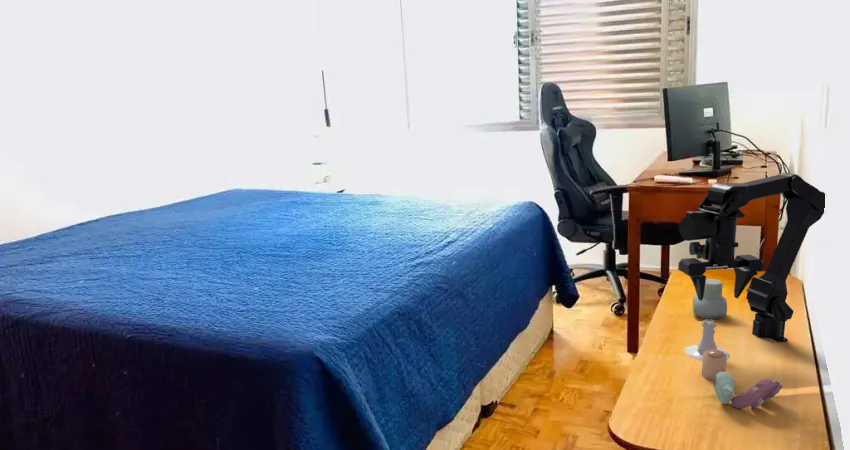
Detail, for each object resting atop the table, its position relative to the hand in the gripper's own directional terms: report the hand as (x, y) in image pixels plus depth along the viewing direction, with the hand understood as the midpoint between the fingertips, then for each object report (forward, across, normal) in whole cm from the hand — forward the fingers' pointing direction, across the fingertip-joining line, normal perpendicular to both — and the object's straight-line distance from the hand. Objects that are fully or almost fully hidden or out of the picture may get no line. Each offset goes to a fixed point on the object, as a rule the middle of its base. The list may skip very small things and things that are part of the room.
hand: (718, 299), depth 163 cm
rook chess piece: (+12, +5, +5) cm, 14 cm away
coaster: (+12, +5, +5) cm, 14 cm away
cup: (+12, +10, +17) cm, 23 cm away
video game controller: (+13, +7, +29) cm, 33 cm away
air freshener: (+13, -10, -21) cm, 27 cm away
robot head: (+13, +14, +27) cm, 33 cm away
